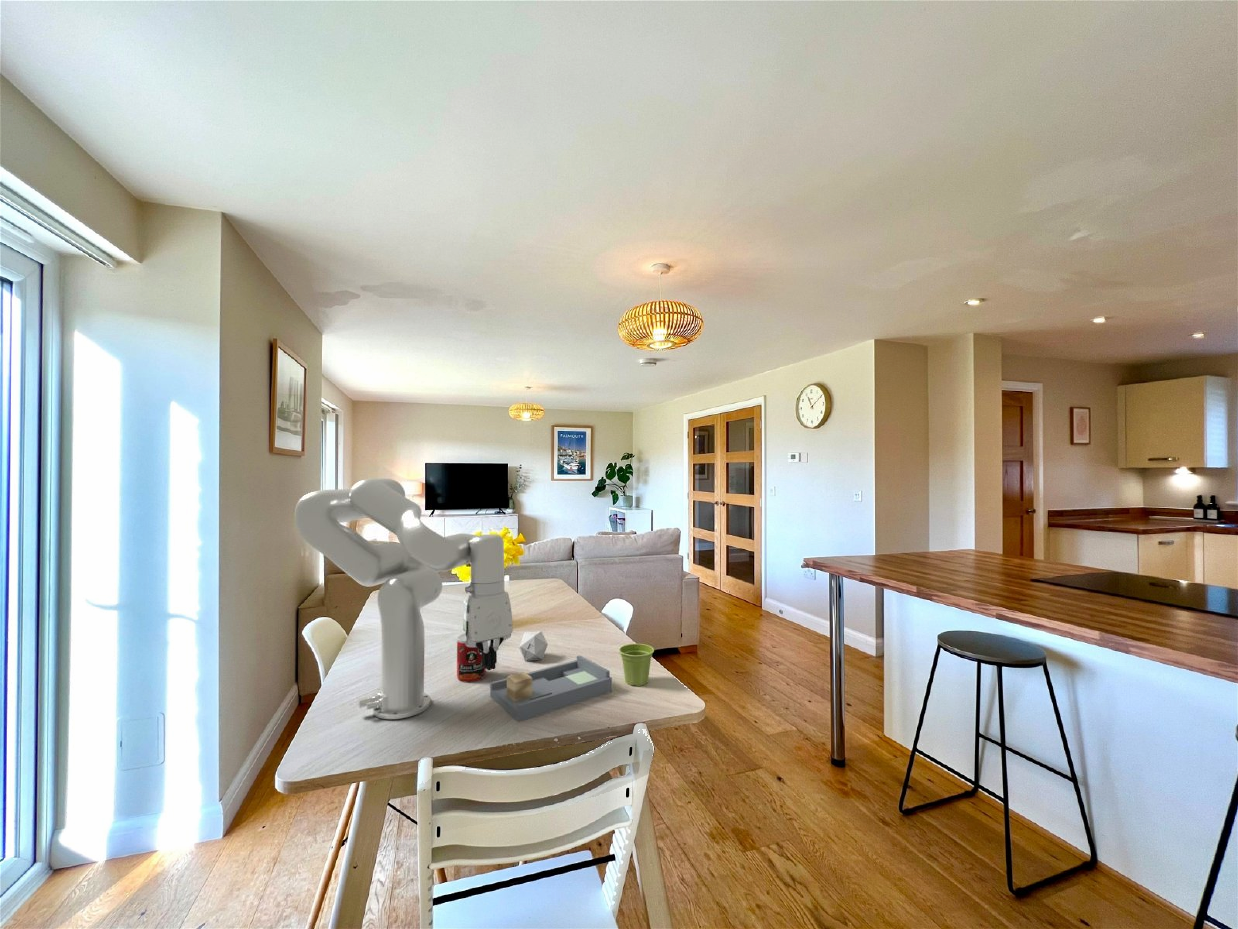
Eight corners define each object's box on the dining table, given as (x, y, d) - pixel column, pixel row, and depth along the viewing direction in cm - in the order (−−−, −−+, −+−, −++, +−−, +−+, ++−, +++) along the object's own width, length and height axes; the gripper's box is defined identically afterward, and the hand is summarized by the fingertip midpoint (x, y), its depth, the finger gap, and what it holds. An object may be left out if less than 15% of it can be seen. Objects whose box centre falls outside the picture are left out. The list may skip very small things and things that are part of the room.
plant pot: (632, 692, 128) (632, 658, 129) (612, 679, 136) (612, 647, 136) (661, 684, 134) (661, 651, 134) (640, 672, 141) (640, 641, 142)
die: (513, 660, 152) (514, 640, 147) (528, 639, 159) (530, 619, 153) (536, 672, 150) (538, 653, 145) (551, 650, 157) (553, 631, 151)
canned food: (456, 684, 133) (456, 642, 133) (457, 672, 141) (457, 633, 141) (486, 681, 135) (486, 639, 135) (485, 669, 143) (486, 630, 143)
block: (514, 701, 118) (515, 682, 118) (506, 694, 122) (506, 676, 122) (532, 696, 121) (532, 677, 121) (523, 690, 125) (523, 671, 125)
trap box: (519, 721, 113) (519, 699, 113) (490, 696, 125) (490, 676, 126) (611, 691, 129) (611, 672, 129) (577, 672, 141) (577, 654, 141)
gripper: (462, 596, 109) (463, 681, 109) (524, 586, 119) (526, 664, 118) (450, 590, 115) (451, 671, 115) (510, 581, 124) (511, 656, 124)
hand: (489, 667), depth 116 cm, fingers closed
